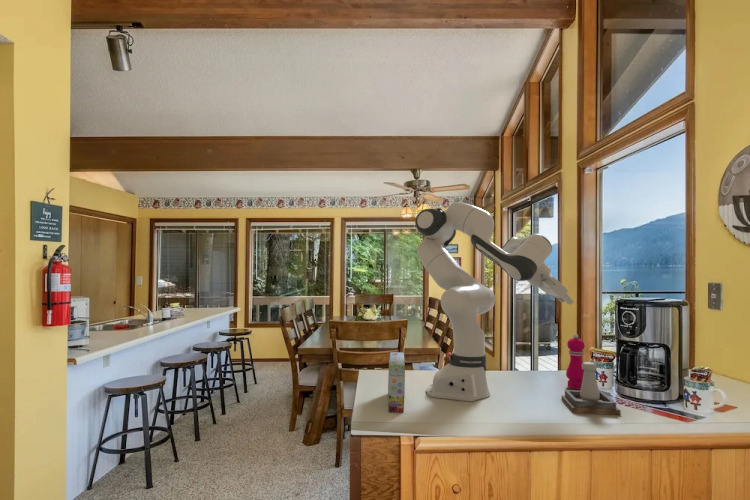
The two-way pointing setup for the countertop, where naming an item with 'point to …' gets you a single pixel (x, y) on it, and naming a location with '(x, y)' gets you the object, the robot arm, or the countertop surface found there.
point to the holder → (590, 404)
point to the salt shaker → (589, 383)
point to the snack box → (396, 382)
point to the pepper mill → (575, 362)
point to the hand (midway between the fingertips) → (567, 302)
